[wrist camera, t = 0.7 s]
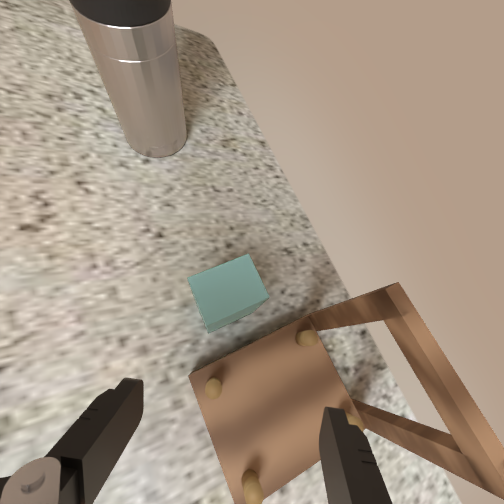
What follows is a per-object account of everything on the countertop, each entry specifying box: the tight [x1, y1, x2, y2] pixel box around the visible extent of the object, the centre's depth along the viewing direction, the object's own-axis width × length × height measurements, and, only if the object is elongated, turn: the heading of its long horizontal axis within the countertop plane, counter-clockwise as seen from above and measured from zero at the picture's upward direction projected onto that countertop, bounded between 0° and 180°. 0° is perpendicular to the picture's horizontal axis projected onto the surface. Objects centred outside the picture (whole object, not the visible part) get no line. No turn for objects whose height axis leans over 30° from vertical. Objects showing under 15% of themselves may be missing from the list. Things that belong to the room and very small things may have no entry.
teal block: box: [187, 254, 269, 333], centre depth 28 cm, size 4×6×11 cm
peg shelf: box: [189, 282, 504, 504], centre depth 22 cm, size 13×16×18 cm
